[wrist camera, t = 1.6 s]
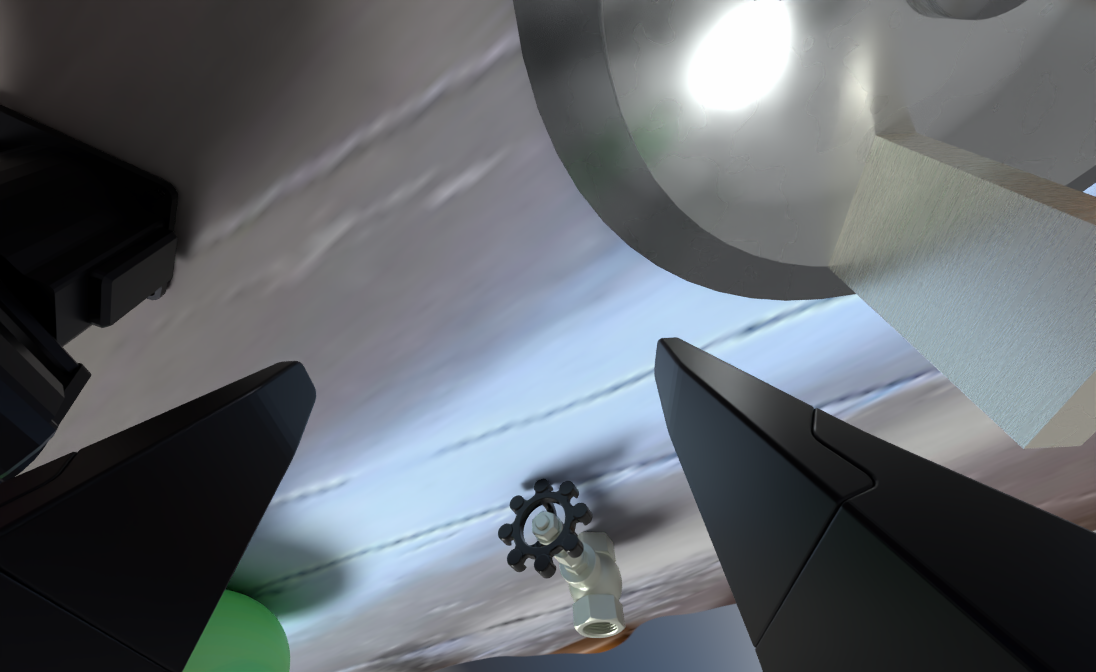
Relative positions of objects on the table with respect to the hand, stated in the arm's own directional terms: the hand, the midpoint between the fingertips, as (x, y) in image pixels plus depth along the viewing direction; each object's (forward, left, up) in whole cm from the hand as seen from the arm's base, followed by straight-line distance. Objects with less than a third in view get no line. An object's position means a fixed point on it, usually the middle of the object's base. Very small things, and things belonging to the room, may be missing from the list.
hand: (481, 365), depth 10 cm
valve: (+17, -21, -12) cm, 30 cm away
